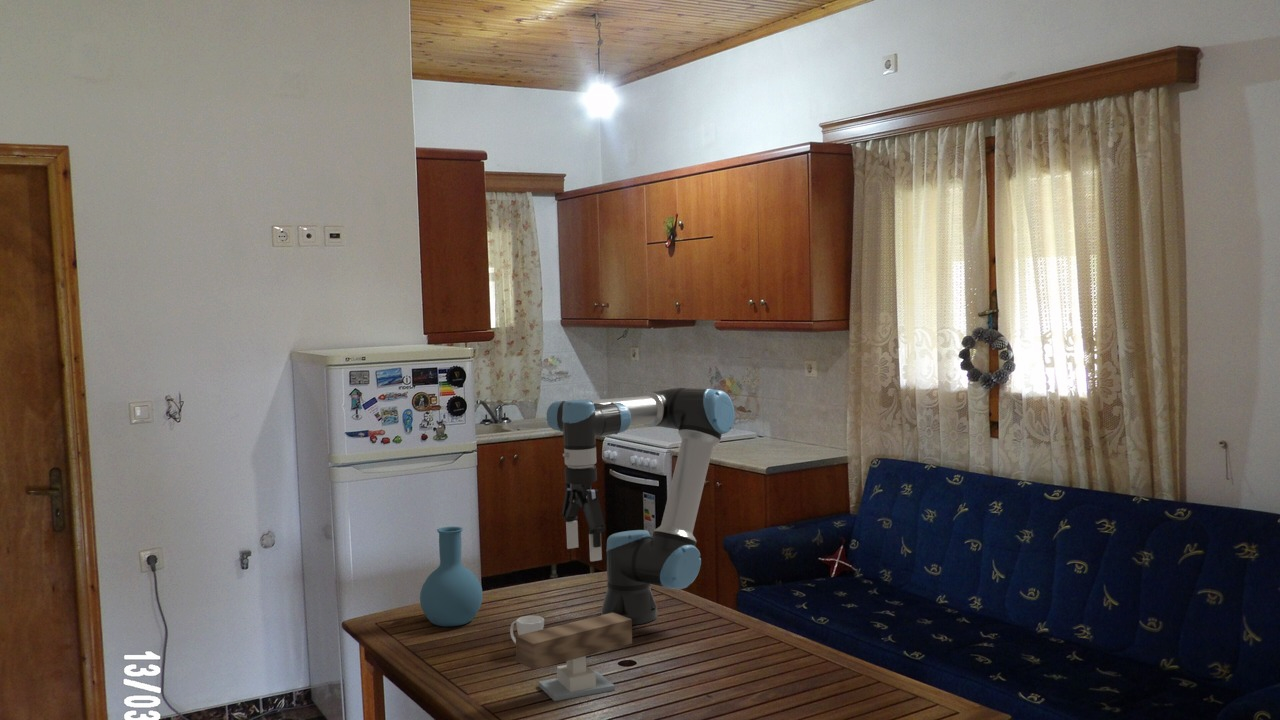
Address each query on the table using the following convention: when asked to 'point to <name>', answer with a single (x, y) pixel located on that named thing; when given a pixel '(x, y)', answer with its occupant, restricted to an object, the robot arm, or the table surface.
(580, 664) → the fulcrum
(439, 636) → the table surface
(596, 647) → the beam
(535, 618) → the cup
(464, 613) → the vase
